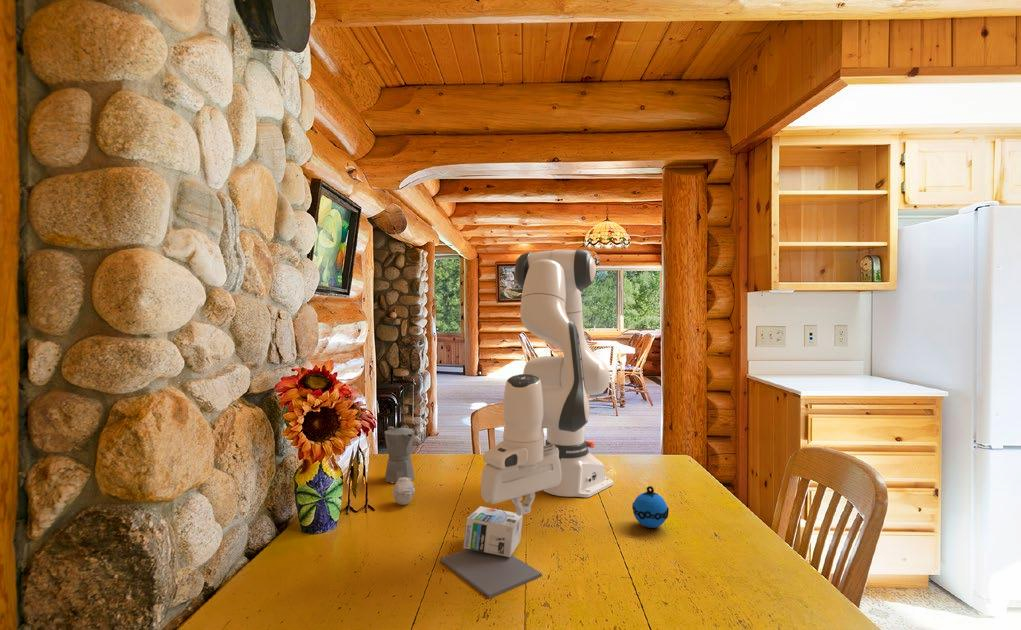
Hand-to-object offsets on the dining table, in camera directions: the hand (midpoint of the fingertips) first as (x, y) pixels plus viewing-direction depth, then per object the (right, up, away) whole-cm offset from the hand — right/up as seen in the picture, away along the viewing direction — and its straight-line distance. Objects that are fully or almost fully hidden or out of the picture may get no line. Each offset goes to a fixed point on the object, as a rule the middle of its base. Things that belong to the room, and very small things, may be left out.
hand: (523, 513), depth 116 cm
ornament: (+32, -9, +15) cm, 36 cm away
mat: (-7, -10, -5) cm, 13 cm away
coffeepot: (-38, -8, +51) cm, 64 cm away
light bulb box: (-1, -6, +2) cm, 6 cm away
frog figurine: (-32, -9, +30) cm, 45 cm away
